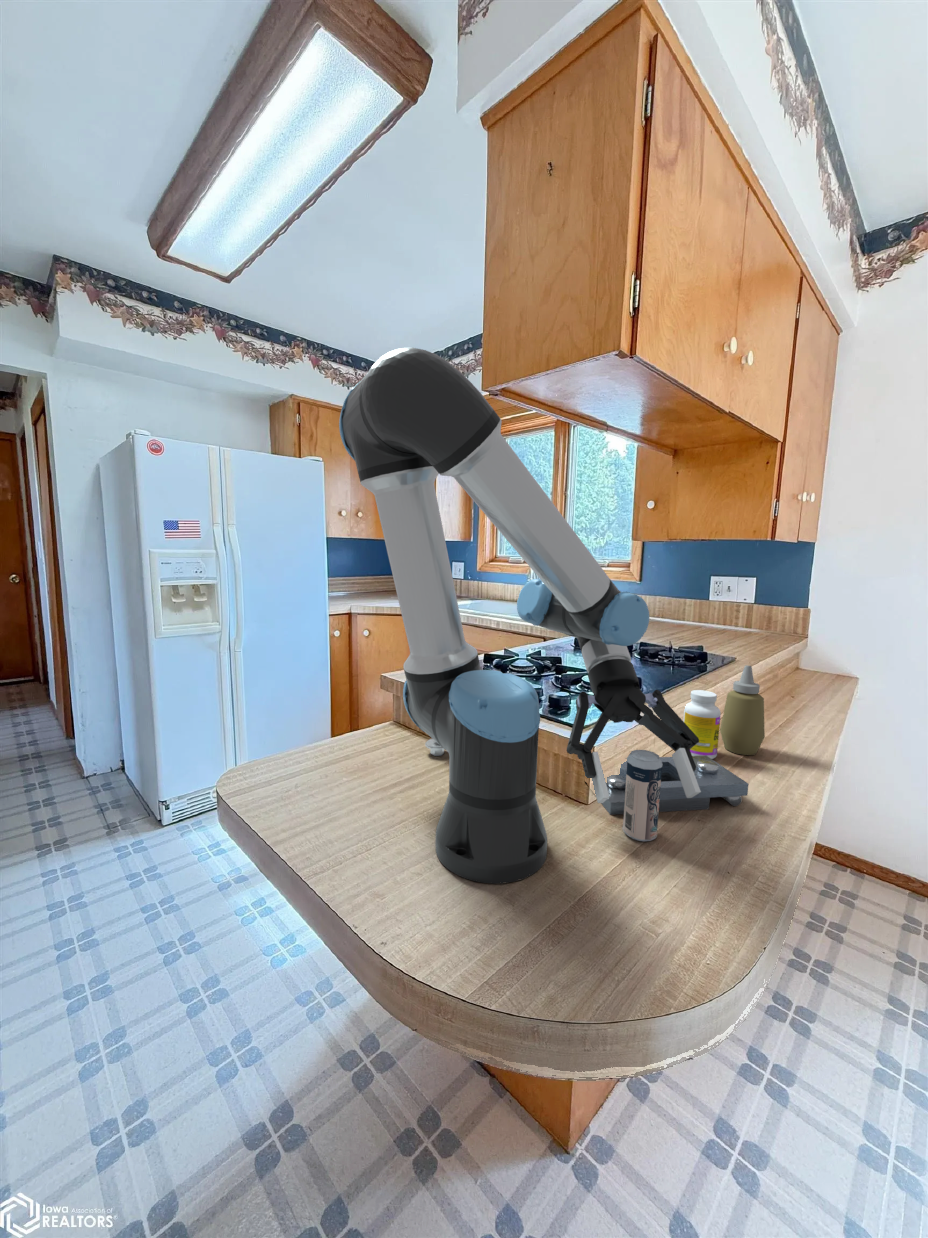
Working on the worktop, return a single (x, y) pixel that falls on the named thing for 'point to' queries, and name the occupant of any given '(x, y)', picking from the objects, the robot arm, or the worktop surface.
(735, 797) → the right chain end
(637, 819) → the beer can
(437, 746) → the screw
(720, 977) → the worktop surface
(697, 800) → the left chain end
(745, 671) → the squeeze bottle
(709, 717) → the supplement bottle
